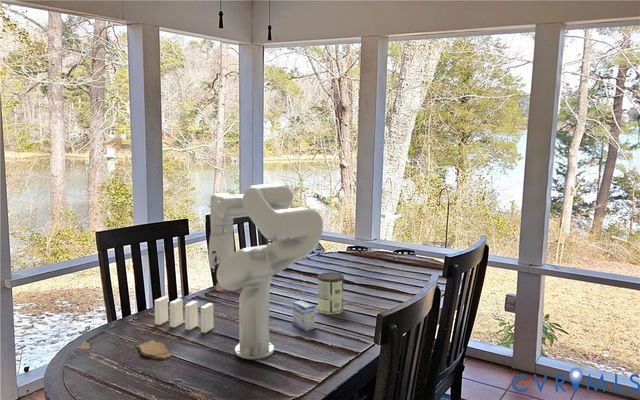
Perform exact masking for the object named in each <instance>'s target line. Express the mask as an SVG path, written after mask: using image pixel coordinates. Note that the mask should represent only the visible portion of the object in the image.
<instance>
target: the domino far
mask: <svg viewBox="0 0 640 400" xmlns="http://www.w3.org/2000/svg"><path fill="white" fill-rule="evenodd" d="M167 322H169V297H168V296H161V297H159V298H157V299H154V323H155V324H154V325H158V326H161V325H163V324H165V323H167Z"/></svg>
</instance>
